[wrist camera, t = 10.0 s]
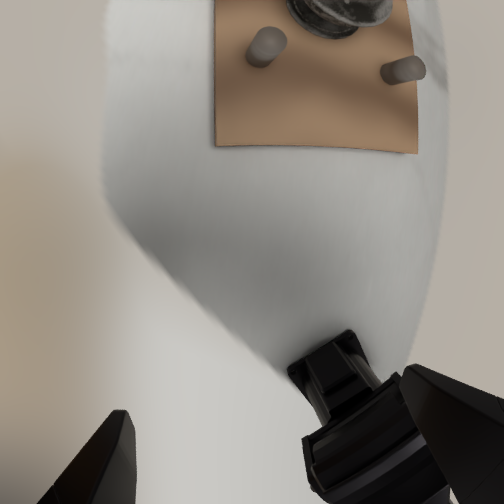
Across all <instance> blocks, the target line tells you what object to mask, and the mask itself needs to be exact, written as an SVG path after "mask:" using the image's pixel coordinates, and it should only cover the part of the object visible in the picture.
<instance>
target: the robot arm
mask: <svg viewBox="0 0 504 504" xmlns="http://www.w3.org/2000/svg"><path fill="white" fill-rule="evenodd" d="M350 335H351V336H350ZM349 336H350V337H349ZM293 370H295V371H293ZM292 371H293V372H292ZM287 373H288V376H289V377H290V378H291V380H292V381H293V382H294V383H295V385H296V386H297V387H298V389H299V390H300V391H301V393H302V394H303V395H304V396H305V398H306V399H307V400H308V401H309V403H310V404H311V405H312V406H313V408H314V410H315V412H316V414H317V416H318V418H319V420H320V422H321V424H322V427H321V428H320V429H318V430H317V431H315V432H314V433H312V434H310V435H307V436H305V437H303V438H302V445H303V454H304V460H305V466H306V472H307V478H308V482H309V484H310V488H311V490H312V491H313V492H316V493H317V494H318V495H319V496H320V497H321V498H322V499H323V500H324V501H325V502H327V503H329V504H453V502H452V501H451V500H450V487H451V489H452V491H453V493H454V495H455V497H456V499H457V501H458V503H459V504H504V399H502V398H500V397H496V396H495V395H492V394H490V393H487V392H484V391H482V390H479V389H477V388H474V387H472V386H469V385H467V384H465V383H462V382H460V381H457V380H455V379H452V378H450V377H447V376H445V375H443V374H440V373H437V372H435V371H433V370H431V369H428V368H426V367H424V366H421V365H419V364H412V365H409V366H407V367H406V368H405V369H404V372H403V375H402V377H401V376H400V375H399V374H398V373H397V372H395V373H393V374H392V375H391V377H390V378H389V379H388V380H387V381H385V382H384V383H383V384H382V383H381V382H380V380H379V379H378V378H377V376H376V375H375V374H374V372H373V371H372V370H371V368H370V365H369V363H368V361H367V359H366V356H365V354H364V352H363V350H362V347H361V345H360V343H359V341H358V338H357V336H356V334H355V333H354V332H353V331H352V330H348V331H346V332H345V333H343V334H342V335H340V336H339V337H337V338H336V339H334V340H332V341H331V342H329V343H328V344H326V345H324V346H323V347H321V348H320V349H318V350H316V351H315V352H313V353H311V354H310V355H308V356H306V357H305V358H303V359H301V360H300V361H298V362H296V363H294V364H293V365H291V366H289V367H288V368H287ZM136 467H137V466H136V439H135V428H134V425H133V423H132V420H131V418H130V416H129V413H128V412H127V411H126V410H113V411H112V412H111V413H110V415H109V416H108V417H107V418H106V420H105V421H104V422H103V423H102V425H101V426H100V427H99V428H98V429H97V431H96V432H95V433H94V434H93V436H92V437H91V438H90V439H89V440H88V442H87V443H86V444H85V445H84V446H83V448H82V449H81V450H80V452H79V453H78V454H77V455H76V456H75V458H74V459H73V460H72V461H71V463H70V464H69V465H68V466H67V467H66V469H65V470H64V471H63V472H62V474H61V475H60V476H59V477H58V479H57V480H56V481H55V483H54V485H52V486H51V487H50V488H49V490H48V491H47V492H46V493H45V495H44V496H43V497H42V498H41V499H40V500H39V501H38V503H37V504H135V499H136V482H137V468H136Z"/></svg>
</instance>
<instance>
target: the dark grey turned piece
mask: <svg viewBox="0 0 504 504" xmlns="http://www.w3.org/2000/svg"><path fill="white" fill-rule="evenodd" d="M286 4H287V8H288V10H289V12H290V14H291V16H292V17H293V18H294V19H295V21H296V22H297V23H298V24H299V25H300V26H302V27H303V28H304V29H305V30H307V31H309V32H311V33H312V34H314V35H316V36H319V37H322V38H326V39H334V40H336V39H344V38H346V37H348V36H351V35H352V34H353V33H355V32H356V31H357V30H358V28H359V27H362V28H363V27H374V26H377V25H379V24H382V23H383V22H384V21H386V20H387V19H388V18H389V16H390V14H391V12H392V7H393V0H286Z"/></svg>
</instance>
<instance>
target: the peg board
mask: <svg viewBox="0 0 504 504" xmlns="http://www.w3.org/2000/svg"><path fill="white" fill-rule="evenodd" d="M425 75H426V68H425V65H424V63H423V62H422V60H421V59H420V58H419V57H417V56H414V49H413V40H412V33H411V26H410V20H409V14H408V8H407V3H406V0H393V7H392V12H391V14H390V16H389V18H388V19H387V20H386V21H384V22H383V23H382V24H379V25H377V26H374V27H363V28H362V27H359V28H358V30H357V31H356V32H355V33H353V34H352V35H351V36H348V37H346V38H344V39H336V40H334V39H326V38H322V37H319V36H316V35H314V34H312V33H311V32H309V31H307V30H305V29H304V28H303V27H302V26H300V25H299V24H298V23H297V22H296V21H295V19H294V18H293V17H292V16H291V14H290V12H289V10H288V8H287V4H286V0H215V8H214V117H215V146H239V145H298V146H326V147H344V148H358V149H371V150H382V151H392V152H401V153H410V154H418V100H417V82H416V80H421V79H423V78H424V77H425Z"/></svg>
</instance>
